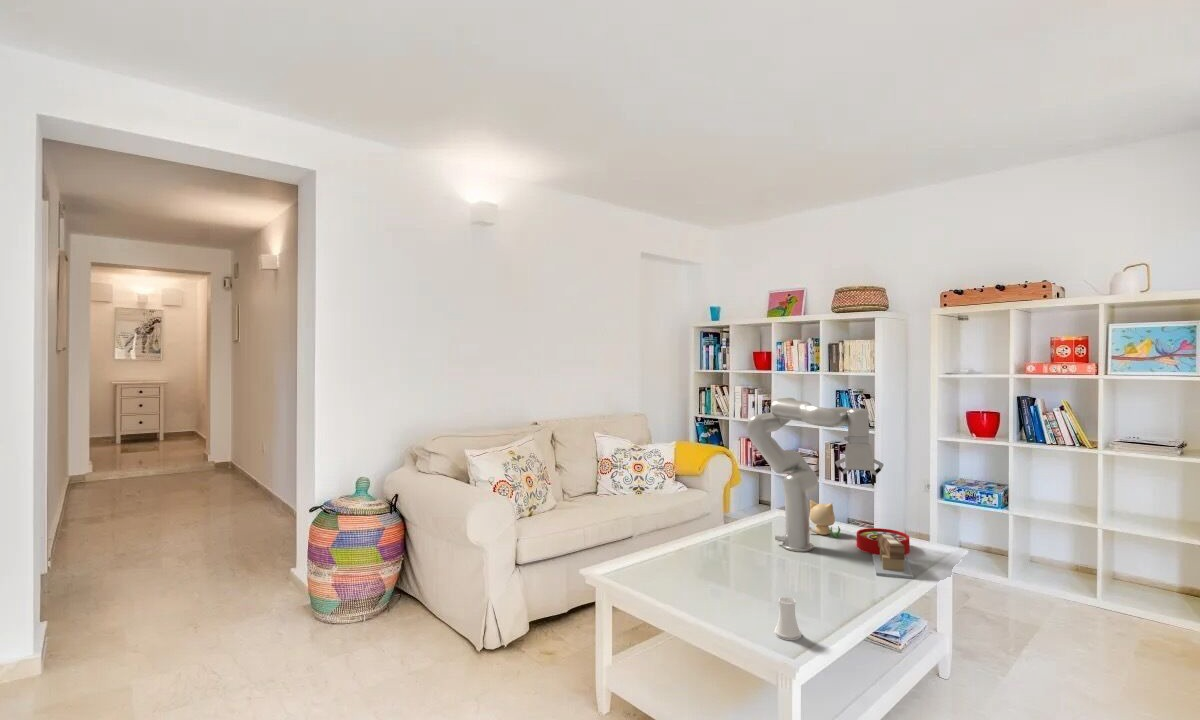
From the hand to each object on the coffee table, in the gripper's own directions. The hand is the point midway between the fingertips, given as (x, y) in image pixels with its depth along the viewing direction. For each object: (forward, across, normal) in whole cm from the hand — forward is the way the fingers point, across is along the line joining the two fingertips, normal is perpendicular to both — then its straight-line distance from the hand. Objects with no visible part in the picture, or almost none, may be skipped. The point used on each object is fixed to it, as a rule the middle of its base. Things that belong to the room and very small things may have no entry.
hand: (859, 484), depth 238 cm
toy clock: (+31, +9, +21) cm, 38 cm away
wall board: (+30, +10, -3) cm, 32 cm away
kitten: (+31, -14, +35) cm, 48 cm away
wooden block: (+25, +10, -3) cm, 27 cm away
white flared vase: (+31, -23, -73) cm, 82 cm away
